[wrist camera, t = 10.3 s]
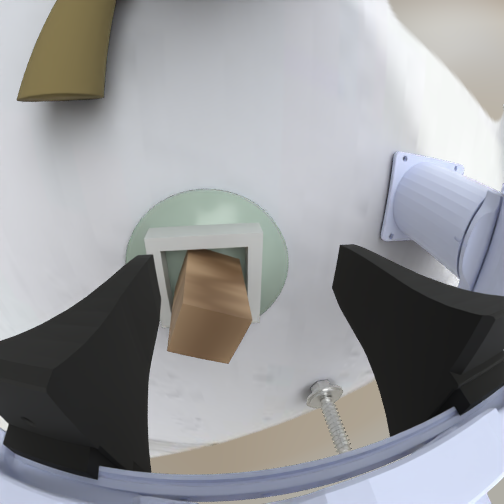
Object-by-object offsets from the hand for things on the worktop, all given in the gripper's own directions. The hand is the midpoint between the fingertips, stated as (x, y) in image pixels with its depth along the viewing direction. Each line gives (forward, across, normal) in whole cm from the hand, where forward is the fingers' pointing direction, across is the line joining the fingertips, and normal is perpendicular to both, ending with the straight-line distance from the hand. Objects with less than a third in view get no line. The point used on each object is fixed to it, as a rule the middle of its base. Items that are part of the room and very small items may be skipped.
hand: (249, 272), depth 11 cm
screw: (+11, -11, +25) cm, 29 cm away
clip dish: (+10, +2, +6) cm, 12 cm away
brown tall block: (+10, +2, +6) cm, 12 cm away
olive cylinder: (+7, +11, -8) cm, 15 cm away
